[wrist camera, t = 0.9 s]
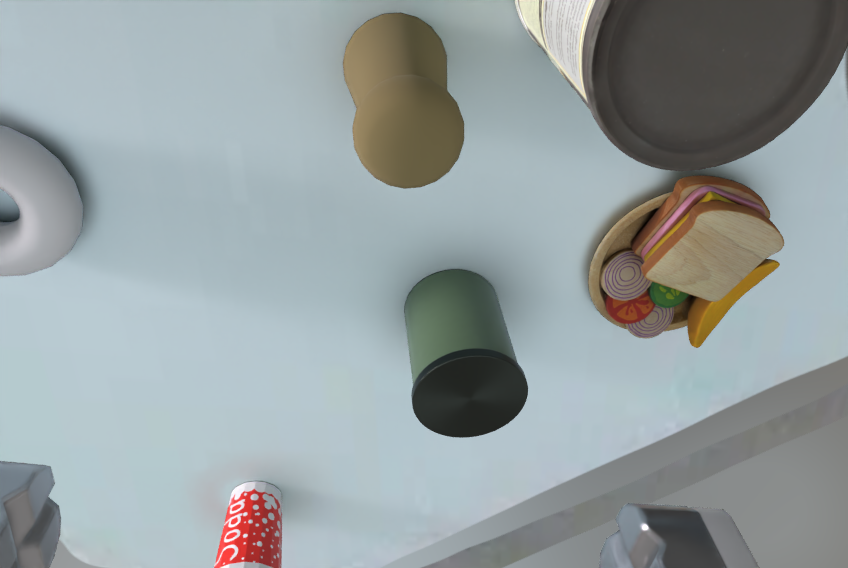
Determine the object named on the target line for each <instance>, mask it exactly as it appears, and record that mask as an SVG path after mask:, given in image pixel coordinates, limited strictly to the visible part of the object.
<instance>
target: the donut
mask: <svg viewBox="0 0 848 568" xmlns="http://www.w3.org/2000/svg"><path fill="white" fill-rule="evenodd" d="M0 188H1V189H2V190H3V191H5V192H6V193H7V194H9V195H10V196H11V197H12V199H13V200H14V201H15V202H16V204H17V205H18V208H19V210H20V217H19V219H18V220H16V221H13V222H5V223H4V222H0V276H18V275H27V274H31V273H34V272H37V271H39V270H42V269H45V268H48V267H51V266H53V265H54V264H55V263H56V262H58V261H59V260H60V259H61V258H63V257H64V256H65V255H66V254H68V253H69V252H70V251H71V250H72V248H73V246H74V244H75V242H76V240H77V238H78V237H79V235H80V233H81V230H82V221H83V204H82V201H81V198H80V195H79V192H78V189H77V186H76V183H75V181H74V179H73V178H72V177H71V175H70V174H69V173H68V171H67V170H66V168H65V167H64V166H63V164H62V163H61V162H60V160H59V159H58V158H57V157H56V156H54V155H53V154H52V153H51V152H49V151H48V150H47V149H46V148H45V147H43V146H42V145H41V144H40V143H38V142H37V141H36V140H34V139H32V138H30V137H28V136H26V135H24V134H22V133H20V132H18V131H16V130H14V129H12V128H10V127H6V126H1V125H0Z"/></svg>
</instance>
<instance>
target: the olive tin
mask: <svg viewBox="0 0 848 568" xmlns="http://www.w3.org/2000/svg"><path fill="white" fill-rule="evenodd" d="M404 313H405V322H406V330H407V338H408V346H409V354H410V363H411V371H412V379H413V388H412V405H413V410H414V413H415V415H416V417H417V418H418V420H419V421H420V422H421V423H422V424H423V425H424V426H425V427H427V428H428V429H430V430H432V431H434V432H436V433H438V434H441V435H445V436H450V437H474V436H479V435H484V434H487V433H490V432H493V431H495V430H497V429H499V428H501V427H503V426H504V425H506V424H508V423H509V422H510V421H511V420H513V419H514V418H515V417H516V416H517V415H518V414H519V412H520V411H521V410H522V408H523V406H524V404H525V402H526V399H527V395H528V385H527V381H526V378H525V375H524V372H523V370H522V369H521V367H520V366H519V365H518V363H517V360H516V356H515V353H514V350H513V347H512V343H511V340H510V337H509V334H508V331H507V327H506V324H505V321H504V318H503V314H502V311H501V308H500V305H499V302H498V298H497V295H496V292H495V290H494V288H493V287H492V285H491V284H490V283H489V282H488V281H487V280H486V279H484V278H483V277H482V276H480V275H478V274H476V273H473V272H470V271H465V270H446V271H441V272H438V273H435V274H432V275H430V276H428V277H426V278H425V279H423V280H422V281H420V282H419V283H418V284H417V285H416V286H415V287H414V288H413V289H412V291H411V292H410V294H409V295H408V297H407V300H406V303H405V309H404Z"/></svg>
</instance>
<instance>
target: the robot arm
mask: <svg viewBox="0 0 848 568" xmlns="http://www.w3.org/2000/svg"><path fill="white" fill-rule="evenodd" d="M54 484H55V482H54V478H53V474H52V469H51V466H46V465H38V464H27V463H16V462H5V461H0V568H49V567H50V565H51V563H52V560H53V558H54V556H55V552H56V548H57V544H58V540H59V537H60V527H61V516H60V509H59V506H58V505H57V504H56V503H55V502H54V501H53V500H51V499H50V498H49V497H48V496H49V494H50V492H51V490H52V488H53V486H54ZM616 521H617V524H618V527H619V531H617V532H616V533H614V534H612V535H611V536H609V537H608V538H606V541H605V543H604V546H603V548H602V550H601V553H600V564H599V568H759V566H758V564H757V562H756V561H755V559H754V557H753V555H752V553H751V551H750V550H749V548H748V546H747V544H746V542H745V541H744V539H743V537H742V535H741V533H740V532H739V530H738V528H737V526H736V524H735V522H734V521H733V519H732V517H731V516H730V515H729V514H728V513H727V512H726V511H725V510H724V509H712V508H697V507H687V506H672V505H654V504H635V503H628V504H626V505H625V506H623V507H622V508H621V510H620V512H619V514H618V516H617V518H616Z"/></svg>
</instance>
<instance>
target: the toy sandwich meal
mask: <svg viewBox="0 0 848 568" xmlns="http://www.w3.org/2000/svg"><path fill="white" fill-rule="evenodd" d="M769 218H770V212H769V210H768V208H767V206H766V205H765V203H764V201H763V200H762V198H761V197H760V196H759V195H758V194H756V193H755V192H754V191H753V190H751V189H750V188H748V187H746V186H744V185H742V184H740V183H737V182H735V181H732V180H728V179H724V178H720V177H713V176H688V177H684V178H681V179H679V180H678V181H677V182H676V184H675V187H674V191H673V192H670V193H667V194H664V195H661V196H658V197H656V198H653V199H651V200H649V201H647V202H645V203H643V204H642V205H640V206H638V207H637V208H635V209H633V210H632V211H631V212H629V213H628V214H627V215H625V216H624V217H623V218H622V219H621V220H619V221H618V222H617V223H616V224H615V225H614V226H613V227H612V228H611V230H610V231H609V232H608V233H607V234H606V236H605V237H604V238H603V240H602V241H601V243H600V245H599V246H598V248H597V250H596V252H595V254H594V257H593V259H592V262H591V266H590V270H589V278H588V286H589V292H590V296H591V299H592V301H593V303H594V305H595V307H596V308H597V310H598V311H599V312H600V313H601V315H602V316H603V317H605V318H606V319H607V320H608V321H610V322H611V323H613V324H615V325H617V326H619V327H621V328H624V329H628V331H629V332H630V333H631V334H633V335H634V336H636V337H639V338H652V337H655V336H657V335H659V334H661V333H662V332H663V331H669V330H674V329H678V328H682V327H685V326H687V325H688V335H689V340H690V343H691V345H692V346H694V347H696V348H698V347H700V346H701V345H702V343H703V342H704V341H705V339H706V338H707V337H708V335H709V334H710V333H711V331H712V330H713V329H714V328H715V327H716V325H717V324H718V323H719V322H720V320H721V319H722V318H723V317H724V315H725V314H726V313H727V312H728V310H729V309H730V308H731V307H732V306H733V305H734V304H735V302H736V301H737V300H738V299H740V298H741V297H742V296H743V295H744V294H745V293H746V292H747V291H749V290H750V289H751V288H752V287H754V286H755V285H756V284H758V283H759V282H760V281H761V280H763V279H764V278H765V277H766V276H768V275H769V274H770V273H771V272H773V271H774V270H775V269H776V268H778V267H779V265H780V264H779V263H778V262H777V261H775V260H771V259H766V258H768V257H769V256H770V255H772V254H775V253H777V252H779V251H780V250H781V249H782V248H783V246H784V239H783V237H782V235H781V234H780V232H779V231H778V229H777V228H776V226H775V225H774V224H773V223H772V222H771V221H770V220H769Z"/></svg>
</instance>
